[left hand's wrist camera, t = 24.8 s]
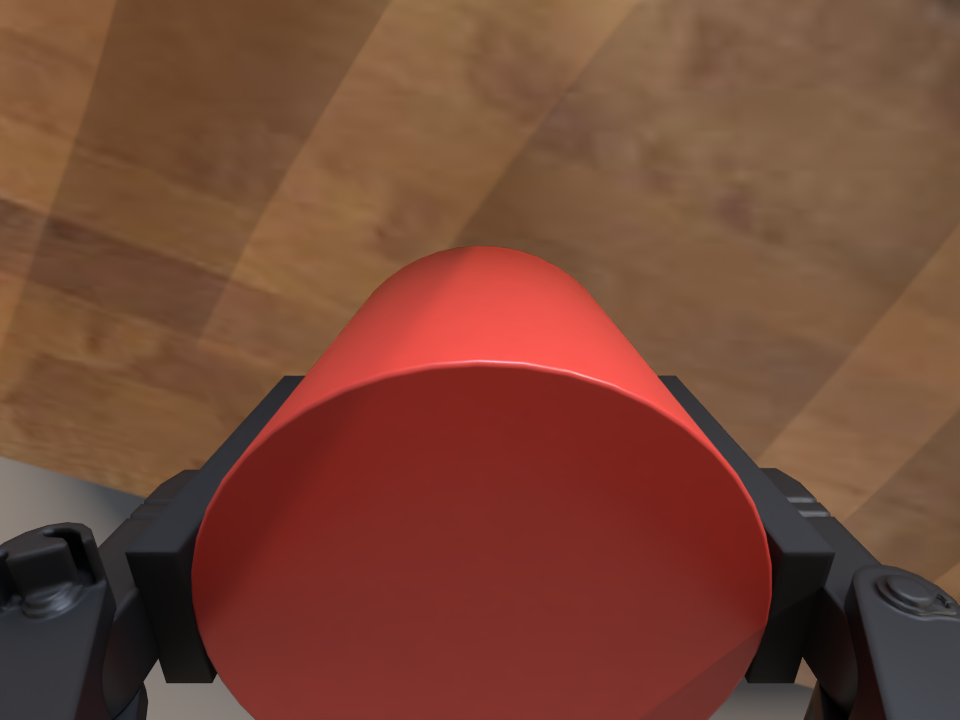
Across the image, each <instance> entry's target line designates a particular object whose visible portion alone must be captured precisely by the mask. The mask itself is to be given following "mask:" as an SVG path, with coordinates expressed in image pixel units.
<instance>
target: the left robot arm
mask: <svg viewBox="0 0 960 720" xmlns="http://www.w3.org/2000/svg"><path fill="white" fill-rule="evenodd" d="M304 377H305V376H284V377H283V378H282V379H281V380H280V382H279V383H278V384H277V385H276V386H275V387H274V388H273V389H272V390H271V391H270V393H269V394H268V395H267V396H266V397H265V398H264V399H263V400H262V401H261V403H260V404H259V405H258V406H257V407H256V408H255V409H254V410H253V411H252V412H251V414H250V415H249V416H248V417H247V418H246V419H245V420H244V421H243V422H242V423H241V425H240V426H239V427H238V428H237V429H236V430H235V431H234V432H233V433H232V435H231V436H230V437H229V438H228V439H227V440H226V441H225V442H224V443H223V444H222V446H221V447H220V448H219V449H218V450H217V451H216V452H215V453H214V454H213V455H212V457H211V458H210V459H209V460H208V461H207V462H206V463H205V464H204V465H203V467H202V468H201V469H200V470H184V471H182V472H180V473H179V474H177V475H175V476H174V477H172V478H170V479H169V480H167V481H165V482H164V483H162V484H161V485H160V486H159V487H158V488H157V489H156V490H155V491H154V492H153V493H152V494H151V495H150V496H149V497H148V498H147V499H146V500H145V501H144V504H141V505H140V506H139V507H138V508H137V509H136V510H135V511H134V512H133V513H132V514H131V517H130V519H126V520H125V521H124V522H123V523H122V524H121V525H120V526H119V527H118V528H117V529H116V530H115V531H114V532H113V533H112V534H111V535H110V536H109V537H108V538H107V539H106V540H105V541H104V542H103V543H102V544H101V546H99V548H97V545H96V542H95V539H94V536H93V533H92V530H91V529H90V528H88V527H87V526H85V525H84V524H80V523H70V522H66V523H59V524H52V525H47V526H44V527H40V528H37V529H34V530H31V531H28V532H25V533H23V534H21V535H19V536H17V537H15V538H13V539H11V540H8V541H6V542H4V543H3V544H1V545H0V720H146V716H147V707H148V698H147V692H146V688H145V685H144V682H143V681H144V680H145V678H146V677H147V675H148V674H149V672H150V671H151V669H152V667H153V666H154V664H155V663H156V661H157V660H158V658H159V661H160V665H161V668H162V671H163V674H164V677H165V680H166V683H213V680H214V679H215V677H216V675H217V671H216V670H215V668H214V666H213V664H212V663H211V661H210V659H209V657H208V655H207V653H206V650H205V647H204V645H203V642H202V639H201V637H200V634H199V631H198V628H197V623H196V618H195V614H194V609H193V604H192V582H191V570H192V563H193V556H194V550H195V543H196V538H197V535H198V532H199V529H200V526H201V523H202V520H203V517H204V514H205V511H206V508H207V507H208V505H209V503H210V501H211V499H212V498H213V496H214V494H215V492H216V490H217V489H218V487H219V485H220V483H221V481H222V479H223V478H224V477H225V476H226V474H227V473H228V472H229V471H230V469H231V468H232V467H233V466H234V464H235V463H236V462H237V460H238V459H239V458H240V457H241V455H242V454H243V453H244V452H245V450H246V449H247V448H248V447H249V445H250V444H251V443H252V442H253V440H254V439H255V438H256V437H257V436H258V434H259V433H260V432H261V431H262V429H263V428H264V427H265V426H266V424H267V423H268V422H269V421H270V419H271V418H272V417H273V416H274V415H275V413H276V412H277V411H278V410H279V408H280V407H281V406H282V405H283V403H284V402H285V401H286V400H287V398H288V397H289V396H290V395H291V393H292V392H293V391H294V390H295V389H296V387H297V386H298V385H299V384H300V382H301V381H302V380H303V379H304ZM657 377H658V378H659V379H660V380H661V382H662V383H663V384H664V385H665V386H666V388H667V389H668V390H669V391H670V393H671V394H672V395H673V396H674V397H675V399H676V400H677V401H678V402H679V403H680V405H681V406H682V407H683V408H684V410H685V411H686V412H687V413H688V414H689V416H690V417H691V418H692V419H693V421H694V422H695V423H696V424H697V425H698V427H699V428H700V429H701V430H702V432H703V433H704V434H705V435H706V436H707V438H708V439H709V440H710V441H711V442H712V444H713V445H714V446H715V447H716V449H717V450H718V451H719V452H720V453H721V455H722V456H723V457H724V458H725V460H726V461H727V462H728V463H729V464H730V466H731V467H732V468H733V469H734V471H735V472H736V473H737V474H738V476H739V478H740V479H741V481H742V483H743V484H744V486H745V488H746V490H747V491H748V493H749V495H750V496H751V498H752V500H753V501H754V503H755V506H756V509H757V511H758V514H759V516H760V519H761V522H762V524H763V527H764V530H765V532H766V538H767V543H768V548H769V554H770V559H771V565H772V597H771V603H770V609H769V615H768V621H767V625H766V628H765V631H764V634H763V637H762V640H761V642H760V645H759V648H758V651H757V653H756V655H755V657H754V659H753V660H752V662H751V664H750V666H749V668H748V670H747V672H746V674H745V678H746V680H747V682H748V683H794V681H795V678H796V675H797V672H798V669H799V666H800V663H801V660H802V657H803V658H804V660H805V661H806V663H807V664H808V666H809V667H810V669H811V670H812V672H813V674H814V675H815V677H816V678H817V682H816V685H815V688H814V691H813V694H812V697H811V700H810V703H809V706H808V709H807V711H806V714H805V717H804V720H960V606H959V605H958V604H957V602H956V601H955V600H954V599H953V598H952V597H951V596H950V595H948V594H947V593H946V592H945V591H943V590H942V589H941V588H940V587H938V586H937V585H935V584H933V583H931V582H930V581H928V580H926V579H924V578H922V577H920V576H919V575H917V574H914V573H911V572H908V571H905V570H903V569H900V568H897V567H892V566H886V565H881V564H880V563H879V562H878V561H877V560H876V559H875V558H874V557H873V556H872V555H871V554H870V553H869V552H868V551H867V550H866V549H865V548H864V547H863V546H862V545H861V544H860V543H859V542H858V541H857V540H856V539H855V538H854V536H853V535H852V534H851V533H850V532H849V531H848V530H847V529H846V528H845V527H844V526H843V525H842V524H841V523H840V522H839V521H838V520H837V519H836V518H835V517H831V516H830V512H829V511H828V510H827V509H826V508H825V507H824V506H823V505H822V504H821V503H817V501H816V498H815V497H814V496H813V495H812V494H811V493H810V492H809V491H808V490H807V489H806V488H805V487H804V486H803V485H802V484H801V483H800V482H798V481H797V480H795V479H793V478H792V477H790V476H788V475H787V474H785V473H783V472H782V471H780V470H778V469H776V468H759V467H758V466H757V465H756V464H755V463H754V462H753V461H752V460H751V458H750V457H749V456H748V455H747V454H746V453H745V452H744V451H743V450H742V448H741V447H740V446H739V445H738V444H737V443H736V442H735V441H734V440H733V439H732V437H731V436H730V435H729V434H728V433H727V432H726V431H725V430H724V429H723V428H722V426H721V425H720V424H719V423H718V422H717V421H716V420H715V419H714V418H713V416H712V415H711V414H710V413H709V412H708V411H707V410H706V409H705V408H704V407H703V405H702V404H701V403H700V402H699V401H698V400H697V399H696V398H695V397H694V396H693V394H692V393H691V392H690V391H689V390H688V389H687V388H686V387H685V386H684V385H683V383H682V382H681V381H680V380H679V379H678V378H677V377H676V376H657Z"/></svg>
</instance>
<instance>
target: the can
mask: <svg viewBox="0 0 960 720" xmlns="http://www.w3.org/2000/svg"><path fill="white" fill-rule="evenodd" d="M191 582H192V604H193V609H194V614H195V618H196V623H197V628H198V631H199V634H200V637H201V639H202V642H203V645H204V647H205V650H206V653H207V655H208V657H209V659H210V661H211V663H212V664H213V666H214V668H215V670H216V671H217V673H218V675H219V677H220V678H221V680H222V682H223V683H224V684H225V685H226V687H227V688H228V690H229V691H230V692H231V693H232V695H233V696H234V697H235V699H236V700H237V701H238V703H239V704H240V705H241V706H242V707H243V708H244V709H245V710H246V711H247V712H248V713H249V714H250V715H251V716H252V717H253V718H254V719H255V720H708V719H709V718H710V717H711V716H712V715H713V714H714V713H715V712H716V711H717V710H718V709H719V707H720V706H721V705H722V704H723V703H724V702H725V701H726V700H727V699H728V698H729V696H730V695H731V693H732V692H733V691H734V689H735V688H736V687H737V685H738V684H739V682H740V681H741V680H742V678H743V677H744V676H745V674H746V672H747V670H748V668H749V666H750V664H751V662H752V660H753V659H754V657H755V655H756V653H757V651H758V648H759V645H760V642H761V640H762V637H763V634H764V631H765V628H766V625H767V621H768V615H769V609H770V603H771V597H772V565H771V559H770V554H769V548H768V543H767V538H766V532H765V530H764V527H763V524H762V522H761V519H760V516H759V514H758V511H757V509H756V506H755V503H754V501H753V500H752V498H751V496H750V495H749V493H748V491H747V490H746V488H745V486H744V484H743V483H742V481H741V479H740V478H739V476H738V474H737V473H736V472H735V471H734V469H733V468H732V467H731V466H730V464H729V463H728V462H727V461H726V460H725V458H724V457H723V456H722V455H721V453H720V452H719V451H718V450H717V449H716V447H715V446H714V445H713V444H712V442H711V441H710V440H709V439H708V438H707V436H706V435H705V434H704V433H703V432H702V430H701V429H700V428H699V427H698V425H697V424H696V423H695V422H694V421H693V419H692V418H691V417H690V416H689V414H688V413H687V412H686V411H685V410H684V408H683V407H682V406H681V405H680V403H679V402H678V401H677V400H676V399H675V397H674V396H673V395H672V394H671V393H670V391H669V390H668V389H667V388H666V386H665V385H664V384H663V383H662V382H661V380H660V379H659V378H658V377H657V375H656V374H655V373H654V372H653V371H652V369H651V368H650V367H649V366H648V364H647V363H646V362H645V361H644V360H643V358H642V357H641V356H640V355H639V353H638V352H637V351H636V350H635V349H634V347H633V346H632V345H631V344H630V343H629V341H628V340H627V339H626V338H625V336H624V335H623V334H622V333H621V332H620V330H619V329H618V328H617V327H616V325H615V324H614V323H613V322H612V321H611V319H610V318H609V317H608V316H607V314H606V313H605V312H604V311H603V310H602V308H601V307H600V306H599V305H598V304H597V302H596V301H595V300H594V299H593V298H592V296H591V295H590V294H589V293H588V292H587V290H586V289H585V288H584V287H583V286H581V285H580V284H579V283H578V282H577V281H576V280H575V279H574V278H573V277H571V276H570V275H569V274H567V273H566V272H564V271H563V270H561V269H560V268H558V267H557V266H555V265H553V264H551V263H549V262H547V261H545V260H543V259H541V258H539V257H536V256H533V255H530V254H527V253H524V252H521V251H518V250H513V249H508V248H502V247H492V246H470V247H458V248H454V249H449V250H444V251H440V252H437V253H434V254H431V255H428V256H426V257H423V258H420V259H418V260H416V261H415V262H413V263H411V264H409V265H407V266H405V267H403V268H402V269H400V270H399V271H397V272H396V273H395V274H393V275H392V276H390V277H389V278H388V279H387V280H386V281H384V282H383V283H382V284H381V285H380V286H379V287H378V288H377V289H376V290H375V291H374V292H373V293H372V295H371V296H370V297H369V298H368V299H367V301H366V302H365V303H364V304H363V306H362V307H361V308H360V309H359V311H358V312H357V313H356V314H355V316H354V317H353V318H352V319H351V321H350V322H349V323H348V324H347V325H346V327H345V328H344V329H343V330H342V332H341V333H340V334H339V335H338V337H337V338H336V339H335V340H334V342H333V343H332V344H331V345H330V346H329V348H328V349H327V350H326V351H325V353H324V354H323V355H322V356H321V358H320V359H319V360H318V361H317V363H316V364H315V365H314V366H313V368H312V369H311V370H310V371H309V372H308V374H307V375H306V376H305V377H304V379H303V380H302V381H301V382H300V384H299V385H298V386H297V387H296V389H295V390H294V391H293V392H292V393H291V395H290V396H289V397H288V398H287V400H286V401H285V402H284V403H283V405H282V406H281V407H280V408H279V410H278V411H277V412H276V413H275V415H274V416H273V417H272V418H271V419H270V421H269V422H268V423H267V424H266V426H265V427H264V428H263V429H262V431H261V432H260V433H259V434H258V436H257V437H256V438H255V439H254V440H253V442H252V443H251V444H250V445H249V447H248V448H247V449H246V450H245V452H244V453H243V454H242V455H241V457H240V458H239V459H238V460H237V462H236V463H235V464H234V466H233V467H232V468H231V469H230V471H229V472H228V473H227V474H226V476H225V477H224V478H223V479H222V481H221V483H220V485H219V487H218V489H217V490H216V492H215V494H214V496H213V498H212V499H211V501H210V503H209V505H208V507H207V508H206V511H205V514H204V517H203V520H202V523H201V526H200V529H199V532H198V535H197V538H196V543H195V550H194V556H193V563H192V570H191Z"/></svg>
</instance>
